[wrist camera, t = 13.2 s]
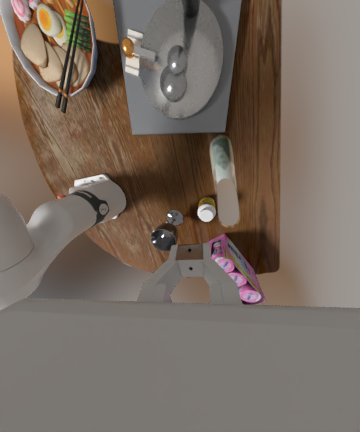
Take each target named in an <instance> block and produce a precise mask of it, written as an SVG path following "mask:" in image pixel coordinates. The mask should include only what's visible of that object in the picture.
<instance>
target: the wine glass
mask: <svg viewBox="0 0 360 432" xmlns="http://www.w3.org/2000/svg"><path fill="white" fill-rule="evenodd" d="M166 219H167V221H168V222H166V223H162V224H161V225H159V226H158V227H157V228H156V229H155V230H154V232H153V233H152V235H151V242H152V244H153V245H154V247H156V248H157V249H159V250H161V251H170V250H171V246H172V245H176V243H177V240H178V230H177V228H176V226H178V225H181V224H182V222H183V219H184V218H183V215H182V214H181V213H180V212H179V211H177V210H171V211H169V212H168V213H167V215H166Z"/></svg>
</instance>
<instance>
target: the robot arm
mask: <svg viewBox="0 0 360 432" xmlns="http://www.w3.org/2000/svg"><path fill="white" fill-rule="evenodd" d="M101 177H102V178H101ZM57 197H58V199H57V200H54V201H51V202H48V203H45V204H42V205H41V206H39V207H38V208H37V209H36V210H35V211H34V213H33V215H32V218H31V220H30V221H29V223H28V224H27V225H26V224H25V221H24V218H23V217H22V215H21V214H20V213H19V211H18V210H17V209H16V208H15V206H14V205H13V204H12V203H11V201H10V200H9V199H8V198H7V197H6V196H5V195H3V194H0V310H1V309H2V310H1V311H0V432H360V308H340V307H305V306H271V305H243V304H242V301H241V297H240V293H239V290H238V286H237V283H236V282H235V281H234V280H233V279H232V278H231V277H230V276H229V275H228V274H227V273H226V272H225V271H224V270H223V269H222V268H221V267H220V266H219V265H218V263H217V262H216V261H215V260H214V259H211V251H210V244H209V243H203V244H185V245H172V246H171V250H170V254H169V258H168V261H166V262H165V263H164V264H162V265H161V266H160V267H159V268H158V269H157V270H156V271H155V272H154V273H153V274H152V275H151V276H150V277H149V278H148V279H147V280H146V281H145V282H144V283H143V286H142V289H141V291H140V294H139V297H138V299H137V302H135V301H102V300H67V299H36V298H26V297H28V296H29V295H30V294H31V293H32V292H33V291H34V290H35V289H36V288H37V287H38V285H39V283H40V281H41V278H42V276H43V274H44V272H45V270H46V269H47V268H48V266H49V265H50V263H51V262H52V261H53V260H54V258H55V257H56V256H57V255H58V253H60V251H61V250H62V249H63V248H64V247H65V246H66V245H67V244H68V243H69V242H70V241H71V240H72V239H74V238H75V237H76V236H78V235H79V234H81V233H82V232H84V231H85V230H87V229H88V228H90V227H93V226H96V225H98V224H99V223H104V222H106V221H108V220H110V219H111V218H112V219H116V218H117V217H118V215H119V213H121V212H122V211H123V210H124V209H125V207H126V198H125V195H124V193H123V191H122V189H121V188H120V187H119V186H118V185H117V184H115V183H114V182H112V181H111V180H110V178H109V177H108V176H107V175H106V174H100V175H96V176H91V177H87V178H82V179H78V180H75V183H74V187H71V188H70V189H69V195H67V196H66V195H59V196H57ZM181 277H204V278H205V280H206V282H207V283H208V284H209V290H210V304H204V303H172V300H171V298H170V294H171V293H172V291H173V290H174V288H175V287H176V285H177V284H178V282H179V281H180V279H181Z"/></svg>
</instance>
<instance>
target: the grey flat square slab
mask: <svg viewBox="0 0 360 432" xmlns="http://www.w3.org/2000/svg"><path fill="white" fill-rule="evenodd" d="M166 1H168V0H113V4H114V11H115V18H116V25H117V31H118V38H119V45H120V52H121V59H122V66H123V73H124V80H125V87H126V94H127V100H128V107H129V114H130V121H131V128H132V135H160V134H192V133H223V132H225V128H226V120H227V112H228V104H229V96H230V89H231V81H232V73H233V65H234V57H235V49H236V41H237V33H238V25H239V17H240V9H241V1H242V0H201V1H202V2H204V3H205V4H206V5H207V6H208V7H209V8H210V9H211V11H212V12H213V14H214V15H215V17H216V19H217V21H218V24H219V27H220V30H221V35H222V41H223V63H222V69H221V75H220V79H219V83H218V85H217V88H216V91H215V93H214V95H213V97H212V98H211V100H210V101H209V103H208V104H207V105H206V106H205V107H204V108H203V109H202V110H201V111H200V112H199V113H198V114H196V115H194V116H193V117H190V118H188V119H183V120H176V119H171V118H169V117H166V116H165V115H163V114H162V113H160V112H159V111H158V110H157V109H156V108H155V107H154V106H153V105H152V103H151V102H150V101H149V99H148V97H147V95H146V93H145V91H144V88H143V85H142V81H141V76H140V69H139V57H138V56H134V58H132V59H128V58H127V57H126V56H125V55H124V53H123V51H122V48H121V42H122V39H123V38H125V37H128V38H130V39H131V40H132V41H133V43H134V45H135V46H138V47H141V42H142V38H143V35H144V32H145V29H146V27H147V25H148V22H149V21H150V19H151V17H152V16H153V14H154V13H155V12H156V10H157V9H158V8H159V7H160V6H161V5H162V4H164V3H165V2H166Z"/></svg>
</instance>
